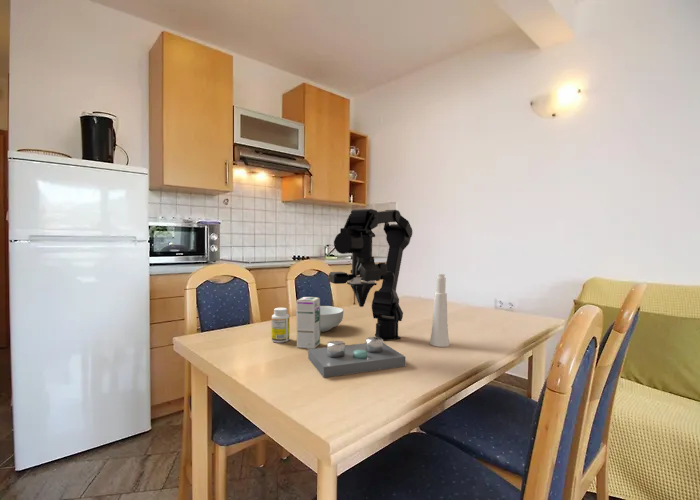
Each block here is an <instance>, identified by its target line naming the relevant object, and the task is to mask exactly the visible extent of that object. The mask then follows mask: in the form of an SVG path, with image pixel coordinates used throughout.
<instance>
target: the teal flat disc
mask: <svg viewBox="0 0 700 500" xmlns="http://www.w3.org/2000/svg"><path fill="white" fill-rule="evenodd" d="M353 357H354V358H357V359H364V358H367V351H365V350H354V351H353Z"/></svg>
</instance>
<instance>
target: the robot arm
mask: <svg viewBox="0 0 700 500" xmlns="http://www.w3.org/2000/svg"><path fill="white" fill-rule="evenodd" d="M389 223H393V224H389ZM380 224H384V225H383V231H384V233H385V235H386V237H385V239H386V242H387V244H388V251H387V252H388V253H387V257H386V262H378V263H375V257H374V256H373V238H376V234H375V232H373V231H372V230H373V229H375V228H377V227H378V226H379V225H380ZM339 231H340V232H339V233H338V234H337V235H336V236H335V237H334V240H333V247H334V249H335V251H336V252H337V253H339V254H342V255H344V254H348V255H349V254H351V255H350V260H351V261H352V263H351V269H350V273H348V272H344V271H330V272H329V273H328V276H327V277H328V279H327V281H328V282H329V283H331V284H333V285H334V284H335V285H336V284H337V285H338V284H341V285H342V284H347V285H349V286H350V287H351V289H352V292H353V293H354V296H355V298H356V301H357V303H358V305H359V306H358V307H360V308H363V307H364V306H365V303H366V301H367V297H368V295H369V293H370V291H371V289H372V288H373V287H374V286H377V284H378V283H377V282H379V281H381V280H382V282H381V287H380V288H379V289H378V290H375V291H374V292H373V299H372V301H371V312H372V316H373V319H376V321H377V322H376V323H375V334H374V337H379V338H382V339H383V341H389V340H400V339H401V336H399V322H402V320H403V317H404V315H403V314H404V312H403V310H402V308H401V306H400V298H399V295H398V293H397V286H398V281H399V277H400V276H399V275H400V269H401V265H402V260H403V259H402V258H403V253H404V250H405V249H406V248H407V247H408V245H409V244H410V242H411V239H412V237H413V228H412V226H411V224H410V222H409V220H408V219H406V218H405V217H404V216H402V214H401V212H400V211H399V210H397V209H386V210H379V211H377V209H373V208H364V209H363V208H361V209H352V210H350V214H349V215H348V217H347V219H346V221H345V224H344V227H342V228H341V227H340V230H339Z"/></svg>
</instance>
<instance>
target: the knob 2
mask: <svg viewBox="0 0 700 500" xmlns="http://www.w3.org/2000/svg"><path fill="white" fill-rule="evenodd" d="M365 343H366V350H367V351H369V352H371V353H377V352H381V351H383V343H384V340H383V339H382V338H379V337H377V336H369V337H366V339H365Z"/></svg>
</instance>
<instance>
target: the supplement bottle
mask: <svg viewBox="0 0 700 500" xmlns="http://www.w3.org/2000/svg"><path fill="white" fill-rule="evenodd" d="M289 340H290V315H289V313H288V308H286V307H276V308H274V309H273V314H272V315H271V341H272V342H273V343H275V344H276V343H278V344H279V343H280V344H281V343H286V342H288V341H289Z"/></svg>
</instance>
